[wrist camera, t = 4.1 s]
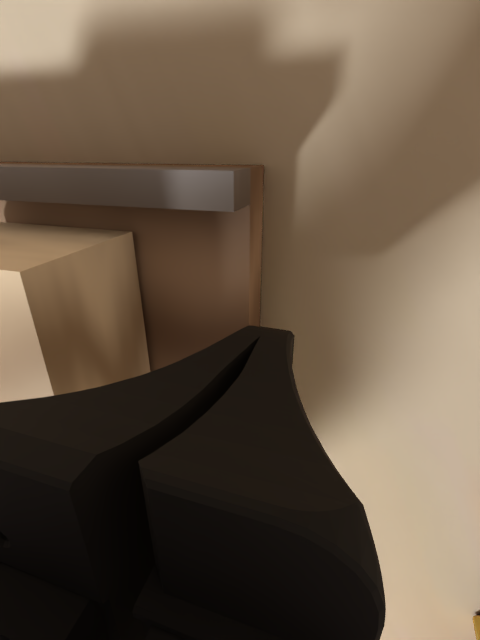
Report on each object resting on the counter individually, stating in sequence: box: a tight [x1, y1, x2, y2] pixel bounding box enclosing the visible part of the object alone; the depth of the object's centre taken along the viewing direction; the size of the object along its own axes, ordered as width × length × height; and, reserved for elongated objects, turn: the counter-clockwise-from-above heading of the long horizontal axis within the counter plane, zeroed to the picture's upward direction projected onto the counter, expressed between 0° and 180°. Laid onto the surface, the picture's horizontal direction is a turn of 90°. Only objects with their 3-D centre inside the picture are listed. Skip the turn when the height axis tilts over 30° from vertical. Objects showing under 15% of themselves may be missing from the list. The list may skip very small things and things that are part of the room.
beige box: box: [0, 222, 150, 402], centre depth 12 cm, size 6×6×4 cm
